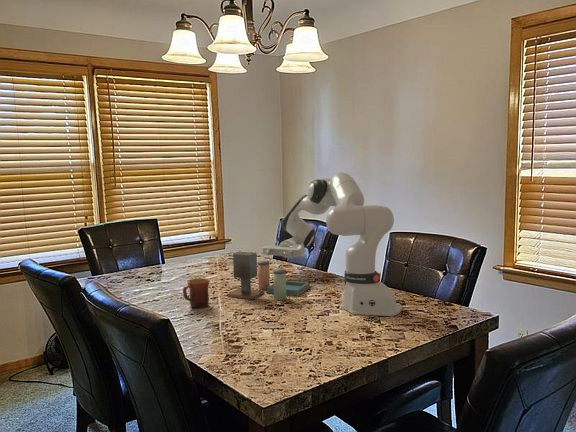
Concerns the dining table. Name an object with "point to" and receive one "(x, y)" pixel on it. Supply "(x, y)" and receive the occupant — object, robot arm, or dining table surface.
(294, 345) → the dining table surface
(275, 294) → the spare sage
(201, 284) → the mug
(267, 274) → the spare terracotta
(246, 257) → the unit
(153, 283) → the dining table surface
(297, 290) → the tray
